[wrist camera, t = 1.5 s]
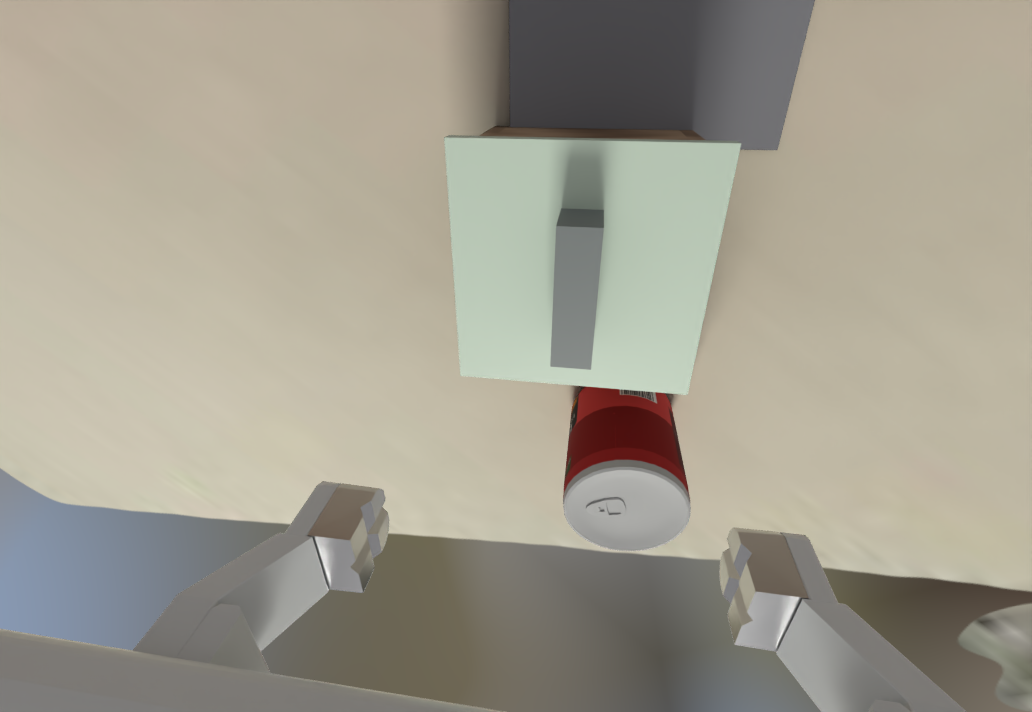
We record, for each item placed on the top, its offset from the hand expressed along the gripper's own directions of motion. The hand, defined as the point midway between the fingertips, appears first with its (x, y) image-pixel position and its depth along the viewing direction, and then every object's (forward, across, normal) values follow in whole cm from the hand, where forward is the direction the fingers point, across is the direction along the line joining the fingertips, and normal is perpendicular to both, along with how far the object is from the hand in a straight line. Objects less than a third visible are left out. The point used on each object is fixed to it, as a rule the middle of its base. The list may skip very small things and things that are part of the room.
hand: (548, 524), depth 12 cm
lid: (+18, 0, 0) cm, 18 cm away
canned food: (+26, -4, +15) cm, 30 cm away
